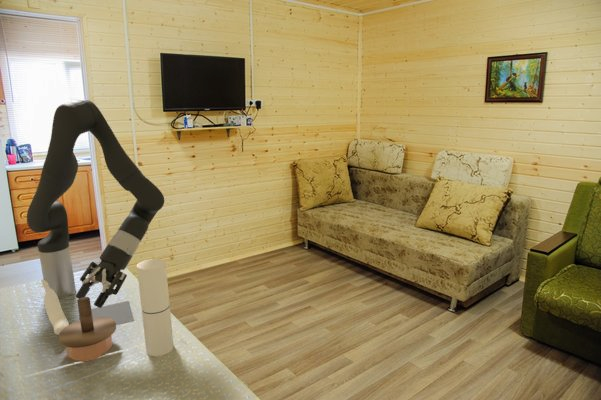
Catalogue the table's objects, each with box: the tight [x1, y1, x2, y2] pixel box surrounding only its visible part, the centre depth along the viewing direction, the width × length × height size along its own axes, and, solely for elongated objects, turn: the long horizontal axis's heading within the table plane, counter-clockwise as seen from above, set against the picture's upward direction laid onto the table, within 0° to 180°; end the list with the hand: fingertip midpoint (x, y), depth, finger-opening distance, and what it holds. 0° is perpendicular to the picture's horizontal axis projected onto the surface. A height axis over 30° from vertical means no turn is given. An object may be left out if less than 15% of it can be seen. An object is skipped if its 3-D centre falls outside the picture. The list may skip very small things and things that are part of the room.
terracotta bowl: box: [65, 335, 113, 363], centre depth 115 cm, size 11×11×5 cm
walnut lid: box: [58, 296, 117, 348], centre depth 113 cm, size 14×14×10 cm
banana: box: [40, 279, 70, 336], centre depth 123 cm, size 5×19×15 cm, turn 41°
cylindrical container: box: [136, 258, 175, 357], centre depth 112 cm, size 7×7×25 cm
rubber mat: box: [78, 300, 135, 326], centre depth 132 cm, size 15×15×1 cm
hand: (87, 302), depth 113 cm, fingers open, 8 cm apart
